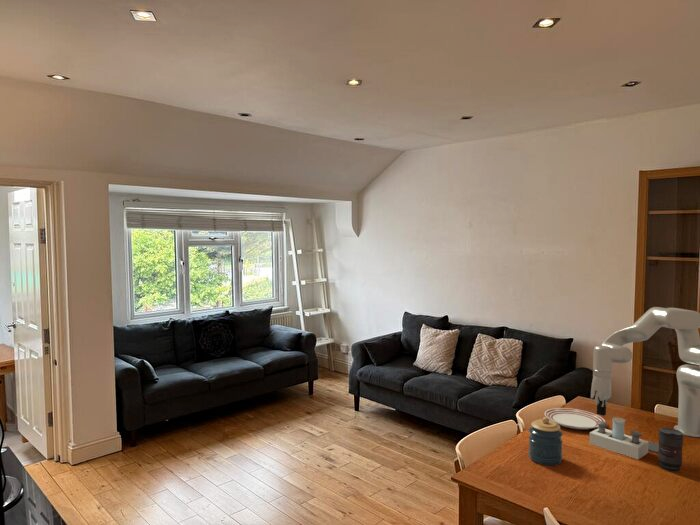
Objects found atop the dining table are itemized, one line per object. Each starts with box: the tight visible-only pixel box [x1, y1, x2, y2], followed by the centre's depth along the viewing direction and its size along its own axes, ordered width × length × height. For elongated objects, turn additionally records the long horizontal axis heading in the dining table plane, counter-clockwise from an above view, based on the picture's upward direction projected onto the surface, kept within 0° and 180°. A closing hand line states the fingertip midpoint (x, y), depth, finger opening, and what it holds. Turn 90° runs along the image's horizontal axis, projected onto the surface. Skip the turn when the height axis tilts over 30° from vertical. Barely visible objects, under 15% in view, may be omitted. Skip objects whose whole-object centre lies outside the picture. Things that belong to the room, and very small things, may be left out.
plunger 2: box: [629, 430, 642, 444], centre depth 204 cm, size 4×4×6 cm
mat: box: [644, 439, 659, 454], centre depth 211 cm, size 9×9×1 cm
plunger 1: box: [597, 421, 608, 434], centre depth 216 cm, size 4×4×6 cm
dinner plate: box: [544, 407, 606, 430], centre depth 240 cm, size 27×27×3 cm
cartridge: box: [611, 416, 626, 441], centre depth 210 cm, size 5×5×13 cm
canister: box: [528, 416, 564, 466], centre depth 200 cm, size 13×13×18 cm
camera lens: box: [657, 427, 684, 473], centre depth 191 cm, size 8×8×15 cm
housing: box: [588, 427, 649, 460], centre depth 210 cm, size 20×10×5 cm, turn 37°
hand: (601, 414), depth 215 cm, fingers closed
